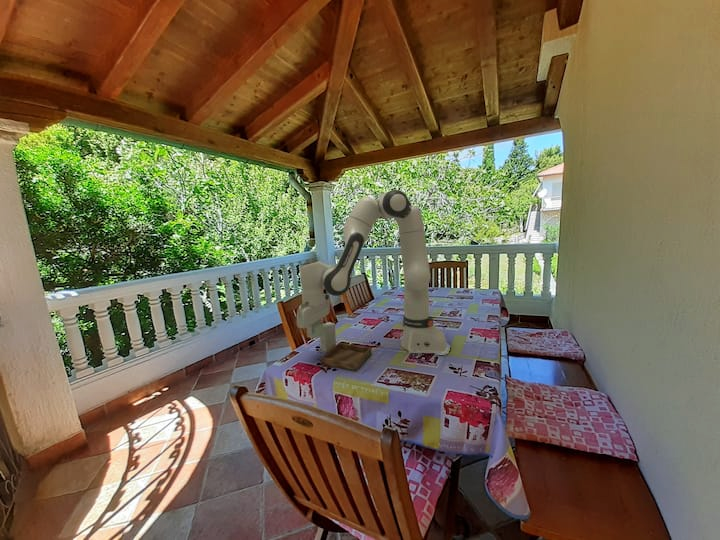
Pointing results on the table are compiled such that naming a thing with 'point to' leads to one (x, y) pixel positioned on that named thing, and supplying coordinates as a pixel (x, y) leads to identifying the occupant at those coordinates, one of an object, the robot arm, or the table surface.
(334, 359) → the walnut tray
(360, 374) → the table surface
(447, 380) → the table surface
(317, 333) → the sage block
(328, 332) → the skincare box
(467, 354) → the table surface
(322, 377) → the table surface
